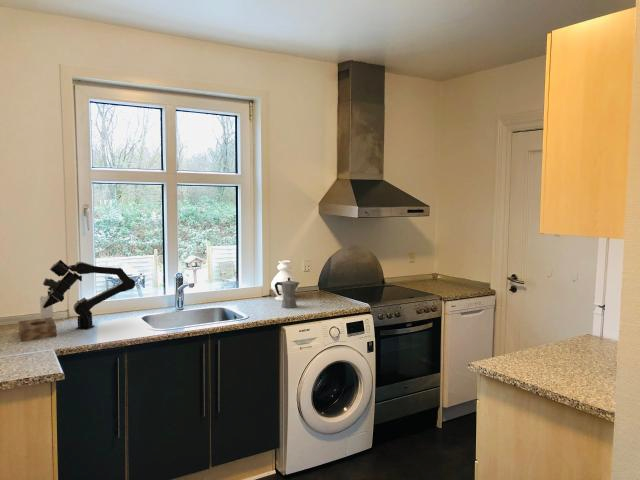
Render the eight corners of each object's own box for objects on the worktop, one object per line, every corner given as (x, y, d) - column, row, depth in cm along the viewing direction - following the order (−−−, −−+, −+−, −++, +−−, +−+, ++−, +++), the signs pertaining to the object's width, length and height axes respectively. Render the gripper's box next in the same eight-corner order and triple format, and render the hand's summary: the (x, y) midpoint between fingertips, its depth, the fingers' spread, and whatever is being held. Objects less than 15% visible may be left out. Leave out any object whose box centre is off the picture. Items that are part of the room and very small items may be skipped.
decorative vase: (274, 295, 340) (273, 259, 338) (300, 296, 339) (299, 259, 336) (268, 301, 323) (268, 262, 321) (296, 301, 321) (295, 263, 319)
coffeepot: (298, 304, 312) (298, 276, 311) (301, 307, 303) (300, 278, 301) (273, 305, 309) (273, 277, 307) (275, 309, 300) (275, 279, 298)
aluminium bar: (52, 314, 253) (50, 295, 252) (53, 316, 248) (51, 296, 248) (40, 316, 250) (39, 296, 249) (41, 318, 246) (40, 298, 245)
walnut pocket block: (52, 327, 260) (52, 317, 259) (56, 336, 243) (56, 325, 243) (18, 331, 252) (18, 321, 251) (20, 341, 235) (20, 330, 235)
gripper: (51, 270, 257) (28, 293, 252) (55, 274, 241) (30, 300, 237) (69, 283, 262) (46, 307, 257) (74, 289, 246) (50, 314, 242)
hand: (43, 306), depth 248 cm, fingers closed on aluminium bar, 5 cm apart
